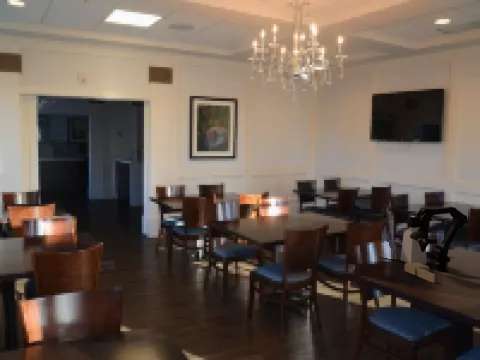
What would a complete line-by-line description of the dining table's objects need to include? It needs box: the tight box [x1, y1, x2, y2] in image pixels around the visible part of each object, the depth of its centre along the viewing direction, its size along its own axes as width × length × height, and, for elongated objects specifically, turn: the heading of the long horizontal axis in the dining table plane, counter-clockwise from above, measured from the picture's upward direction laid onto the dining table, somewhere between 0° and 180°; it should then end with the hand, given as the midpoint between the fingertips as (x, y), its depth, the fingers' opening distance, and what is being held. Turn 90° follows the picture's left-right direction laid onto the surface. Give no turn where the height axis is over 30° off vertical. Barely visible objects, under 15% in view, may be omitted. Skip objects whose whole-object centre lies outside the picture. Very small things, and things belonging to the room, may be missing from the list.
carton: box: [404, 262, 430, 276], centre depth 286 cm, size 10×10×5 cm
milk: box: [400, 227, 427, 265], centre depth 313 cm, size 12×12×26 cm
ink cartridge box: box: [380, 237, 397, 260], centre depth 321 cm, size 10×6×14 cm, turn 55°
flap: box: [415, 268, 436, 284], centre depth 273 cm, size 14×1×5 cm, turn 19°
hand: (422, 252), depth 291 cm, fingers closed
